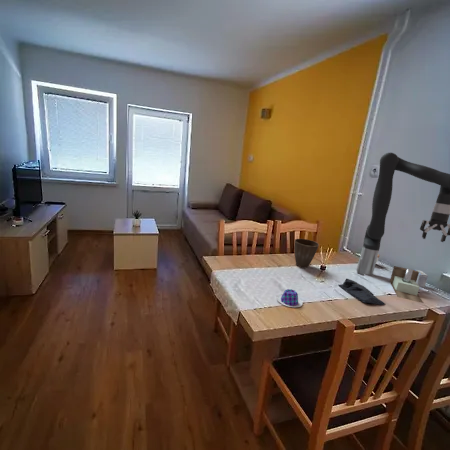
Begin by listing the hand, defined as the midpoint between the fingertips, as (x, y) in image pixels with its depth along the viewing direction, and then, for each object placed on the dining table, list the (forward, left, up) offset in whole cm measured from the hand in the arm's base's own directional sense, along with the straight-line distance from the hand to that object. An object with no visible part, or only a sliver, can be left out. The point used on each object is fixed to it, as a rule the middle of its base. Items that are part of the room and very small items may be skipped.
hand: (432, 240), depth 151 cm
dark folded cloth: (-33, -30, -31) cm, 54 cm away
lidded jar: (-23, +31, -30) cm, 49 cm away
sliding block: (-9, -9, -29) cm, 32 cm away
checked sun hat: (-66, -60, -31) cm, 94 cm away
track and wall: (-9, -12, -30) cm, 34 cm away
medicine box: (+1, +6, -30) cm, 31 cm away
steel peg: (-9, -9, -29) cm, 32 cm away
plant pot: (-66, -7, -30) cm, 73 cm away
